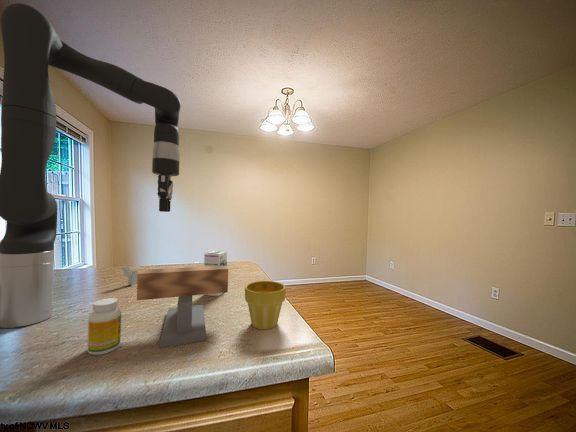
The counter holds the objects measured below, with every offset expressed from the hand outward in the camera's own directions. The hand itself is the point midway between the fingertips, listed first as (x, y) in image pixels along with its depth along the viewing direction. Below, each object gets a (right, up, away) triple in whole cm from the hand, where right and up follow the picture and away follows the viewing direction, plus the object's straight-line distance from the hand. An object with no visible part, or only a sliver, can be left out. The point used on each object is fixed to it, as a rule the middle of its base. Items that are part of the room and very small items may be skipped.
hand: (164, 211), depth 75 cm
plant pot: (+32, -29, -13) cm, 45 cm away
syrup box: (+13, -29, +10) cm, 33 cm away
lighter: (-21, -28, +16) cm, 38 cm away
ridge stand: (+13, -29, -15) cm, 35 cm away
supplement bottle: (+1, -29, -26) cm, 38 cm away
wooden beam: (+13, -21, -15) cm, 29 cm away
